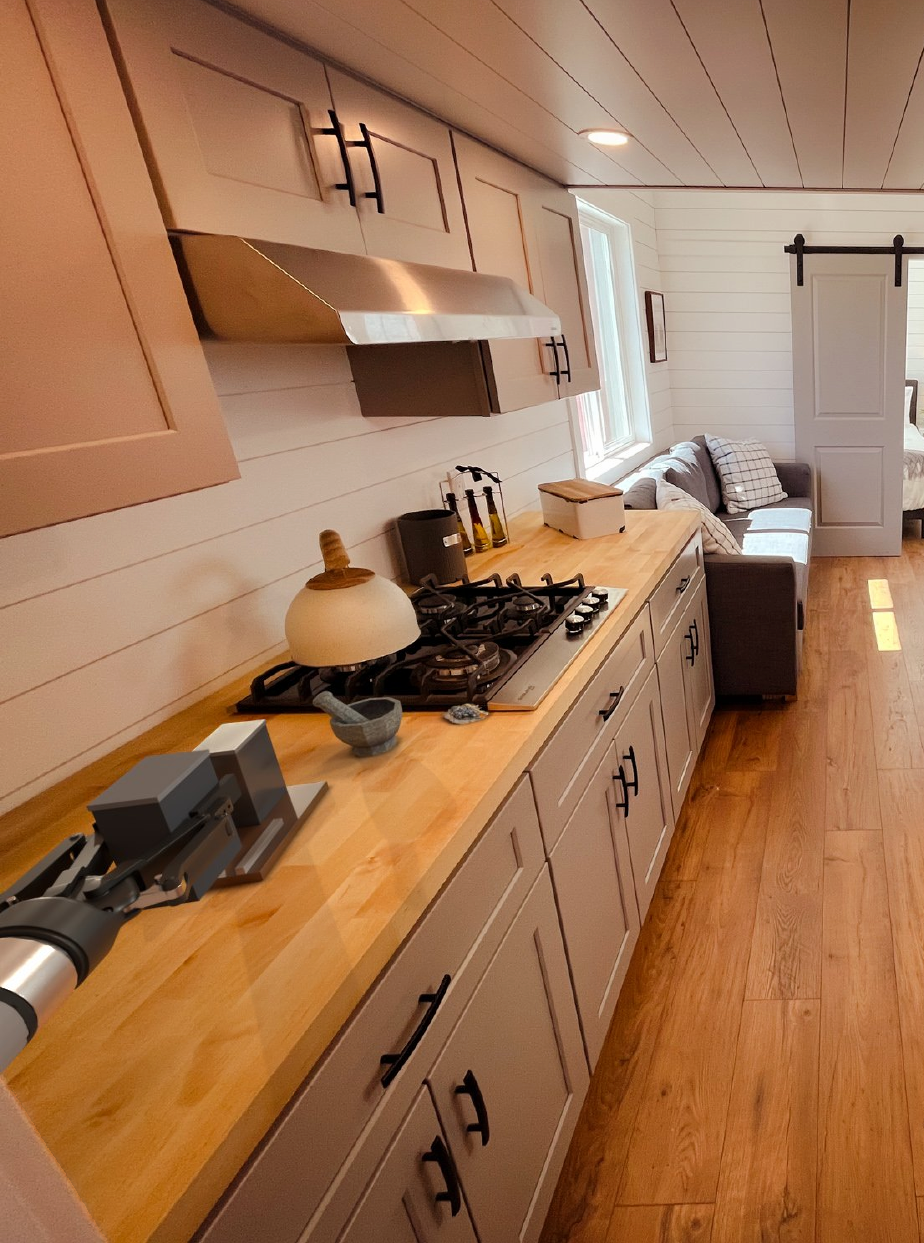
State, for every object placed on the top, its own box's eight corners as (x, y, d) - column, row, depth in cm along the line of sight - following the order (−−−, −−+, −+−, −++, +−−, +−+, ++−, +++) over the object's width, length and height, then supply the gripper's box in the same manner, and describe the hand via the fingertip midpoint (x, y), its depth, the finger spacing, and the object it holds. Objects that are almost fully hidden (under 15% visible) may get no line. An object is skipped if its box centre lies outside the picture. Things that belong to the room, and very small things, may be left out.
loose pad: (133, 912, 66) (85, 806, 61) (186, 854, 73) (146, 756, 69) (199, 901, 67) (156, 797, 63) (244, 846, 74) (208, 749, 70)
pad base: (126, 903, 83) (84, 810, 79) (219, 803, 101) (189, 723, 97) (263, 881, 87) (231, 791, 82) (329, 788, 105) (305, 710, 100)
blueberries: (461, 704, 130) (459, 695, 129) (499, 708, 129) (497, 699, 128) (434, 722, 124) (432, 713, 123) (475, 727, 122) (473, 717, 122)
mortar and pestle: (401, 726, 122) (386, 665, 118) (416, 746, 116) (401, 683, 112) (324, 750, 115) (304, 686, 111) (336, 774, 109) (316, 706, 104)
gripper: (-118, 1036, 50) (108, 832, 71) (181, 981, 55) (310, 805, 76) (-170, 959, 48) (80, 770, 69) (148, 908, 52) (292, 746, 73)
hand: (201, 789), depth 72 cm, fingers closed on loose pad, 5 cm apart
